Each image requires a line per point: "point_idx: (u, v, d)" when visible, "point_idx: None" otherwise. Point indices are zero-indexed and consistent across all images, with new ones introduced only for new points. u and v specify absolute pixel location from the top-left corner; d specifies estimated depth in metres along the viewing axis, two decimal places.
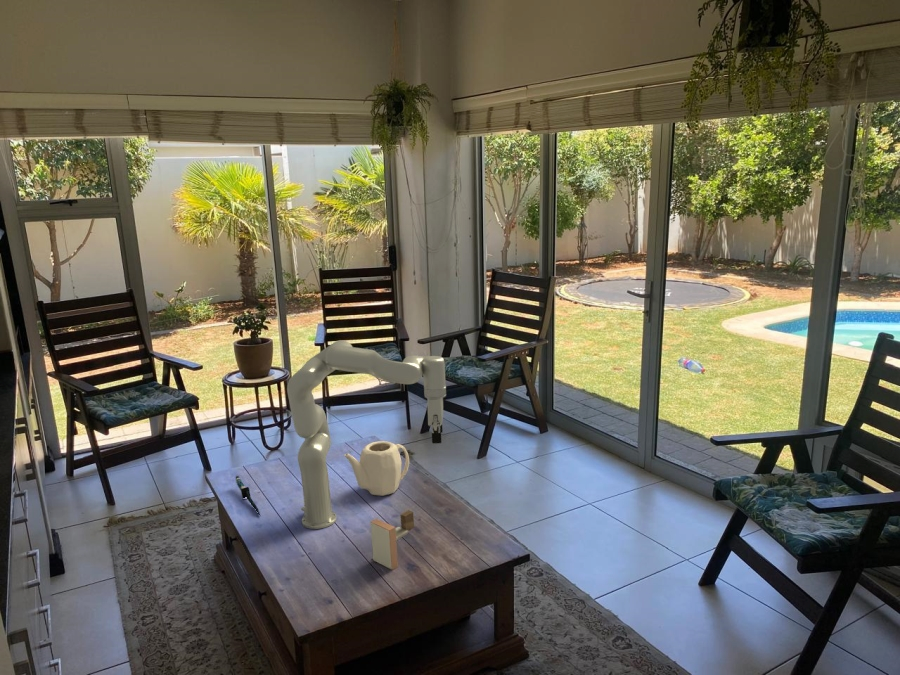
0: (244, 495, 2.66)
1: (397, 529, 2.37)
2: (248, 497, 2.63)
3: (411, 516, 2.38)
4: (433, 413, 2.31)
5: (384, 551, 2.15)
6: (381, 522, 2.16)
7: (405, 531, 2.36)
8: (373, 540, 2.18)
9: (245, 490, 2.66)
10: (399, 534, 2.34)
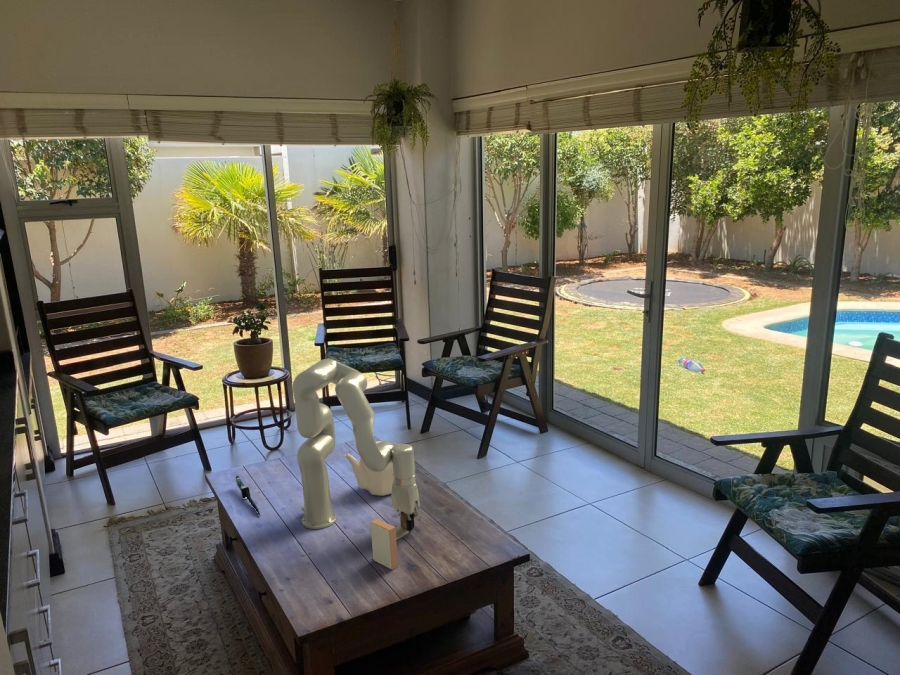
0: (244, 495, 2.66)
1: (397, 529, 2.37)
2: (248, 497, 2.63)
3: None
4: (414, 500, 2.32)
5: (384, 551, 2.15)
6: (381, 522, 2.16)
7: (405, 531, 2.36)
8: (373, 540, 2.18)
9: (245, 490, 2.66)
10: (399, 534, 2.34)
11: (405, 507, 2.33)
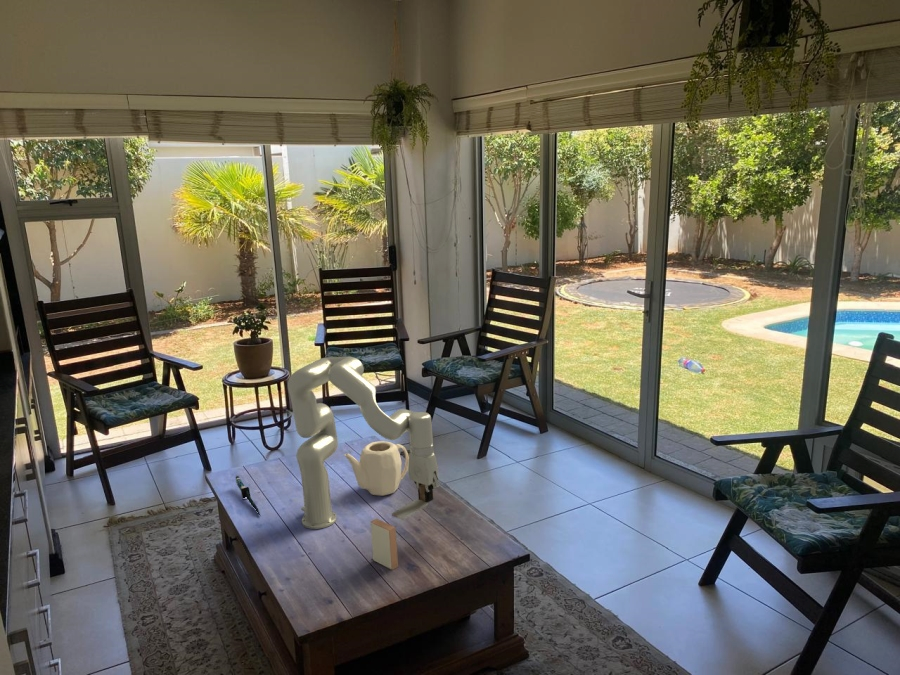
0: (244, 495, 2.66)
1: (416, 501, 2.27)
2: (248, 497, 2.63)
3: None
4: (433, 470, 2.22)
5: (384, 551, 2.15)
6: (381, 522, 2.16)
7: (424, 503, 2.26)
8: (373, 540, 2.18)
9: (245, 490, 2.66)
10: (418, 506, 2.24)
11: (423, 478, 2.23)
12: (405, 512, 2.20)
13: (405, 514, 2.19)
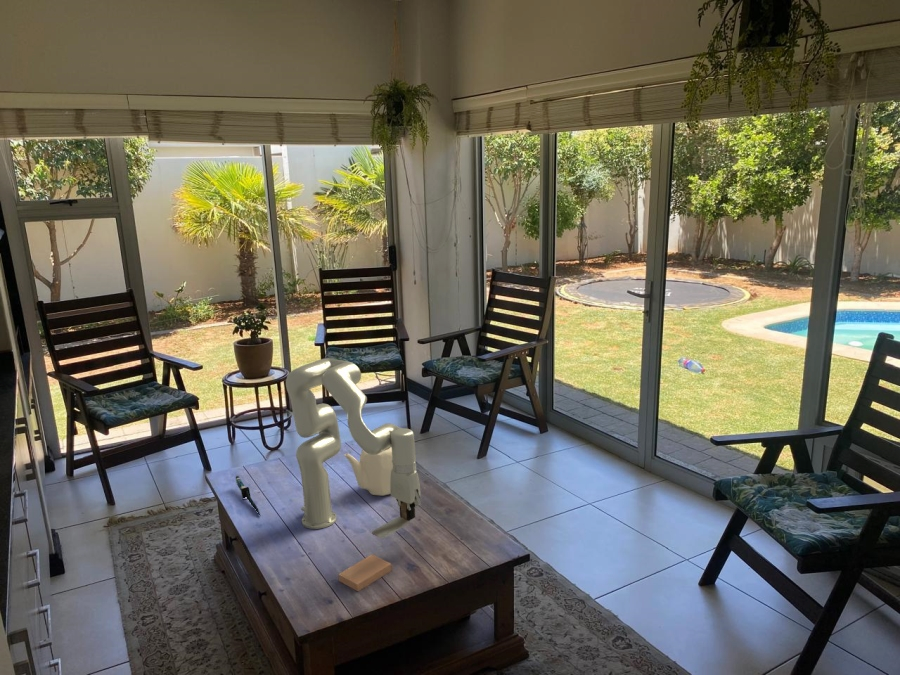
0: (244, 495, 2.66)
1: (397, 519, 2.22)
2: (248, 497, 2.63)
3: None
4: (415, 488, 2.17)
5: None
6: (345, 579, 2.07)
7: (406, 521, 2.20)
8: None
9: (245, 490, 2.66)
10: (399, 524, 2.19)
11: (405, 496, 2.18)
12: (385, 531, 2.15)
13: (385, 533, 2.14)
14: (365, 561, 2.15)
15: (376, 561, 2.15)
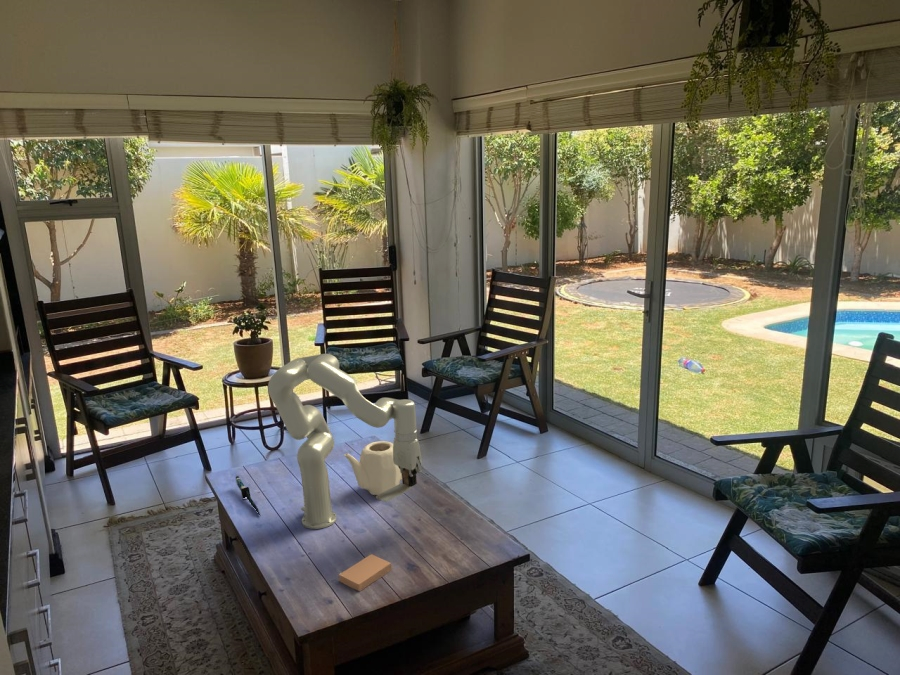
0: (244, 495, 2.66)
1: (400, 485, 2.35)
2: (248, 497, 2.63)
3: None
4: (416, 455, 2.30)
5: None
6: (346, 580, 2.07)
7: (408, 487, 2.34)
8: None
9: (245, 490, 2.66)
10: (402, 490, 2.32)
11: (407, 463, 2.31)
12: (389, 495, 2.28)
13: (389, 497, 2.27)
14: (365, 561, 2.15)
15: (376, 561, 2.15)
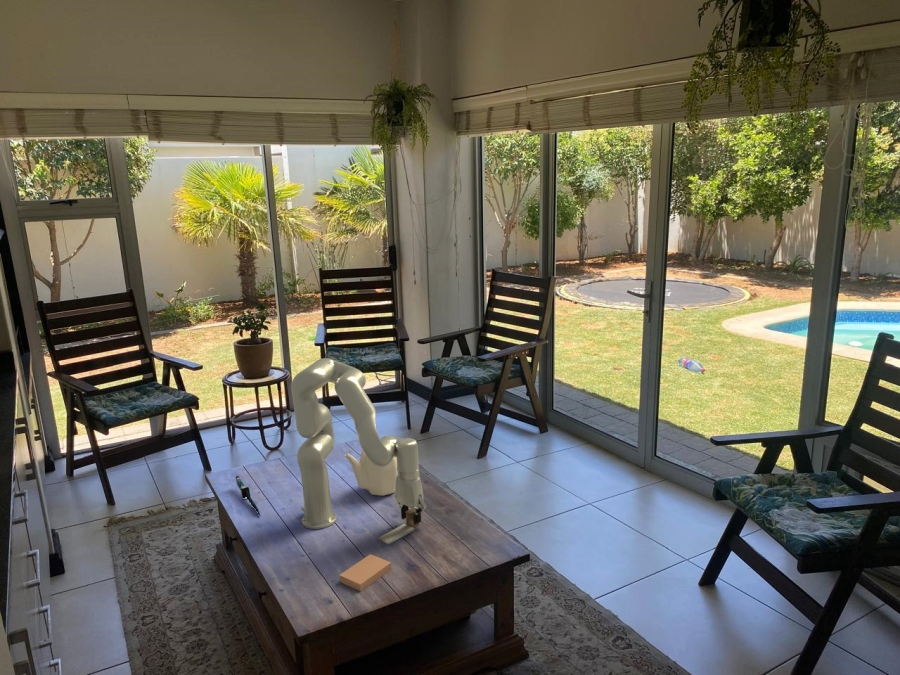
0: (244, 495, 2.66)
1: (402, 526, 2.39)
2: (248, 497, 2.63)
3: None
4: (418, 494, 2.34)
5: None
6: (347, 580, 2.07)
7: (410, 528, 2.37)
8: None
9: (245, 490, 2.66)
10: (404, 531, 2.36)
11: (409, 501, 2.34)
12: (391, 537, 2.32)
13: (391, 539, 2.31)
14: (365, 561, 2.15)
15: (376, 560, 2.16)
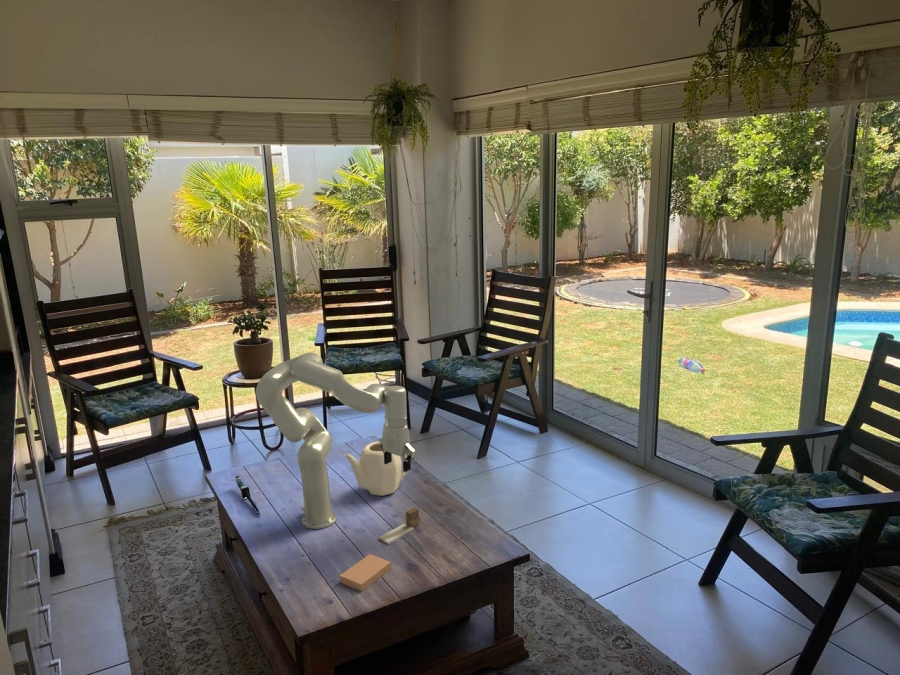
0: (244, 495, 2.66)
1: (402, 526, 2.39)
2: (248, 497, 2.63)
3: (416, 513, 2.40)
4: (405, 442, 2.32)
5: None
6: (347, 580, 2.07)
7: (410, 528, 2.38)
8: None
9: (245, 490, 2.66)
10: (404, 531, 2.36)
11: (395, 449, 2.33)
12: (391, 537, 2.32)
13: (391, 539, 2.31)
14: (364, 561, 2.15)
15: (375, 560, 2.16)
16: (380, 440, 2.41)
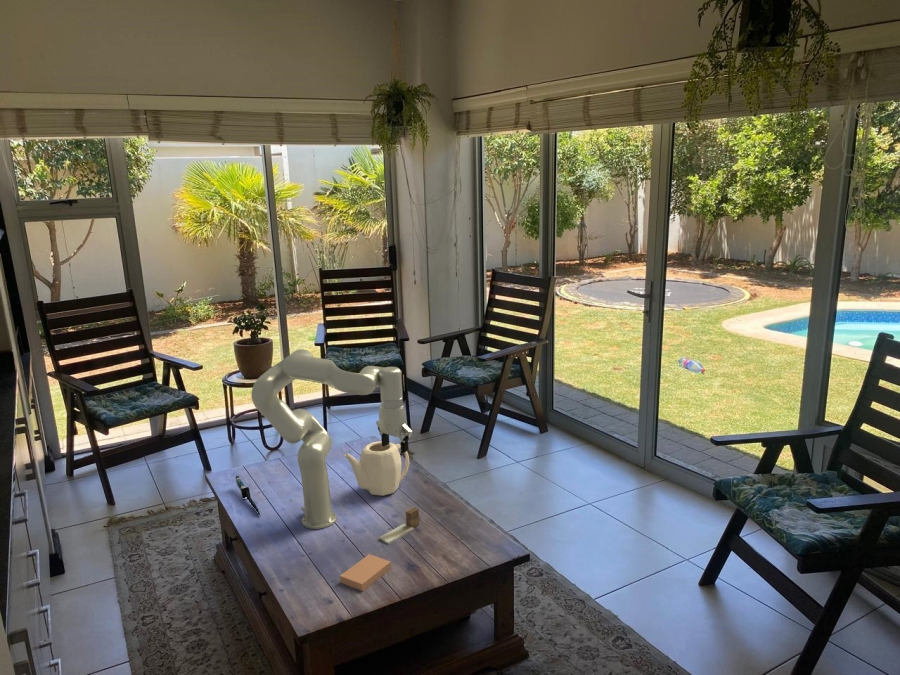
0: (244, 495, 2.66)
1: (402, 526, 2.39)
2: (248, 497, 2.63)
3: (416, 513, 2.40)
4: (402, 422, 2.32)
5: None
6: (348, 580, 2.07)
7: (410, 528, 2.37)
8: None
9: (245, 490, 2.66)
10: (404, 531, 2.36)
11: (392, 430, 2.32)
12: (391, 537, 2.32)
13: (391, 539, 2.31)
14: (364, 561, 2.15)
15: (375, 560, 2.16)
16: (377, 422, 2.41)
